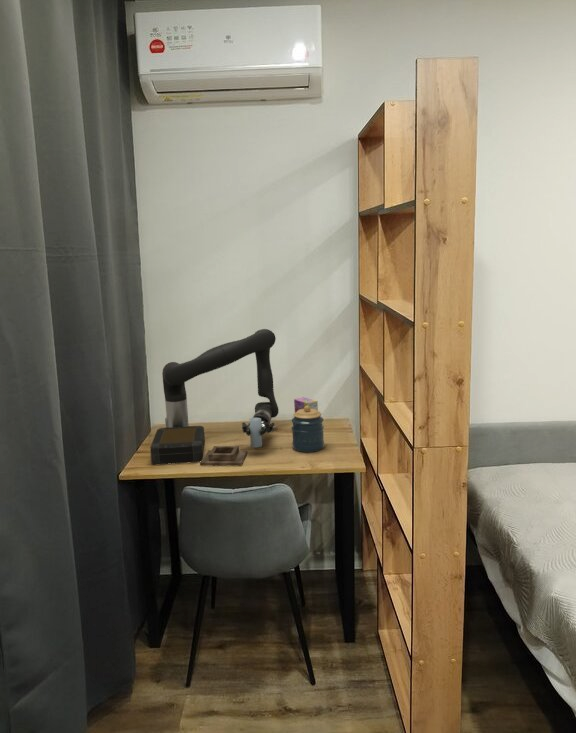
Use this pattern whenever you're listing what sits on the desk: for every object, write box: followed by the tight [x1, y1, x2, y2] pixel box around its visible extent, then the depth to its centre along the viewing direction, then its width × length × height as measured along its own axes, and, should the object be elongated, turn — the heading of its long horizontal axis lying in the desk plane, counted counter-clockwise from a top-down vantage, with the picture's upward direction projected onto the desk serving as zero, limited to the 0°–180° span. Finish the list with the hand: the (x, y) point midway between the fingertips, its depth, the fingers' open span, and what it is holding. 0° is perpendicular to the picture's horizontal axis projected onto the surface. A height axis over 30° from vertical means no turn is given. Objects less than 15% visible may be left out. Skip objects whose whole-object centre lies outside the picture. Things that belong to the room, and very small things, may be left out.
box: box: [293, 396, 319, 413], centre depth 278 cm, size 10×6×12 cm, turn 37°
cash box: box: [149, 425, 206, 465], centre depth 247 cm, size 25×20×8 cm
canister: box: [291, 406, 325, 453], centre depth 247 cm, size 13×13×18 cm
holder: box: [199, 445, 248, 467], centre depth 238 cm, size 16×14×4 cm
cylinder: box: [249, 417, 263, 448], centre depth 242 cm, size 5×5×11 cm
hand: (254, 433), depth 239 cm, fingers closed on cylinder, 4 cm apart
